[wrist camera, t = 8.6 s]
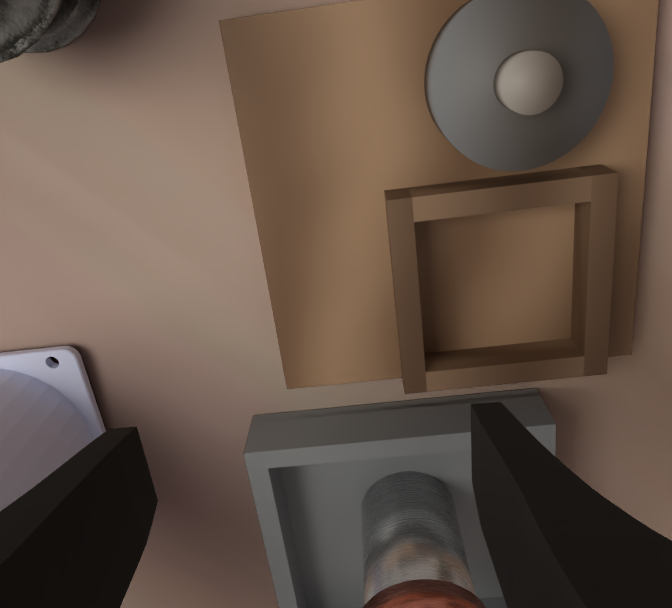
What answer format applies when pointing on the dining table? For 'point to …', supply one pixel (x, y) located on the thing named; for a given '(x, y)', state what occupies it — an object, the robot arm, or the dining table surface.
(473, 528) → the tray
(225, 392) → the dining table surface
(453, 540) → the pin
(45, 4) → the grey tiered figure
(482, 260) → the board
